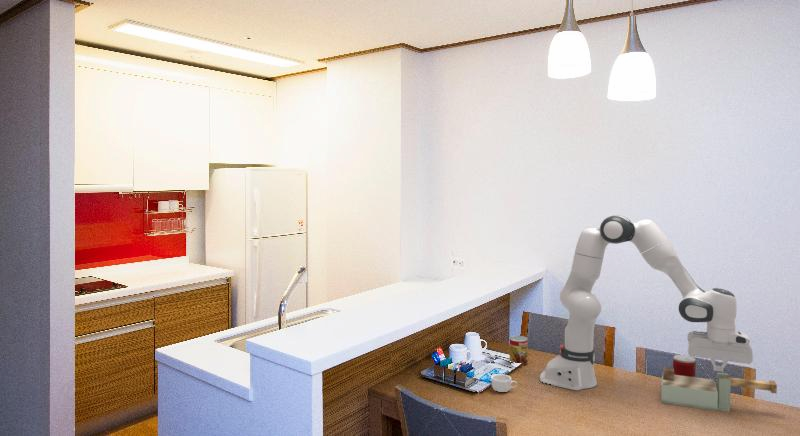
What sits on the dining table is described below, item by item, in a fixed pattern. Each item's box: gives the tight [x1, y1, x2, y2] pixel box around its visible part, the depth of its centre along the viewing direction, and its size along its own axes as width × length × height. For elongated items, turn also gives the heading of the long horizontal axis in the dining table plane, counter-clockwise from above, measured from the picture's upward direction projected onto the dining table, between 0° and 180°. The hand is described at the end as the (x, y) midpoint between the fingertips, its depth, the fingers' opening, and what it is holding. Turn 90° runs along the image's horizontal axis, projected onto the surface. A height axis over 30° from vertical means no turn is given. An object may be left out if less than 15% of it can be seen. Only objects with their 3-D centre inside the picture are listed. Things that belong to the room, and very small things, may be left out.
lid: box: [662, 366, 717, 392], centre depth 201 cm, size 17×9×5 cm, turn 65°
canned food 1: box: [509, 335, 529, 367], centre depth 243 cm, size 8×8×12 cm
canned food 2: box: [672, 354, 697, 377], centre depth 218 cm, size 8×8×11 cm
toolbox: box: [660, 372, 732, 413], centre depth 201 cm, size 22×9×12 cm, turn 66°
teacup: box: [490, 373, 518, 393], centre depth 215 cm, size 10×8×5 cm
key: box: [724, 376, 778, 395], centre depth 193 cm, size 16×4×3 cm, turn 66°
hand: (718, 371), depth 197 cm, fingers closed
